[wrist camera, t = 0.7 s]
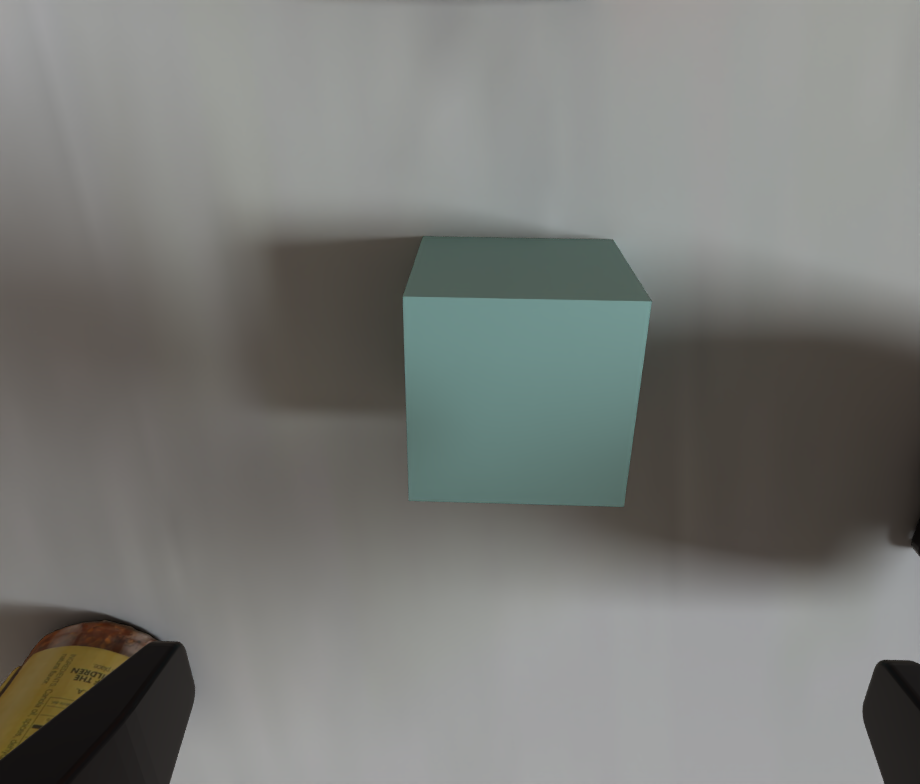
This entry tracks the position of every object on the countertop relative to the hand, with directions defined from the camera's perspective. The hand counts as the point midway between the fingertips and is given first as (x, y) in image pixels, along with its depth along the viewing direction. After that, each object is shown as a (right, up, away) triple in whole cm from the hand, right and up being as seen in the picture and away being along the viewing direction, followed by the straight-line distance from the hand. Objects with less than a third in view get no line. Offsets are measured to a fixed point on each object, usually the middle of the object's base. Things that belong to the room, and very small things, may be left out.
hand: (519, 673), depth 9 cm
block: (+1, +6, +11) cm, 12 cm away
